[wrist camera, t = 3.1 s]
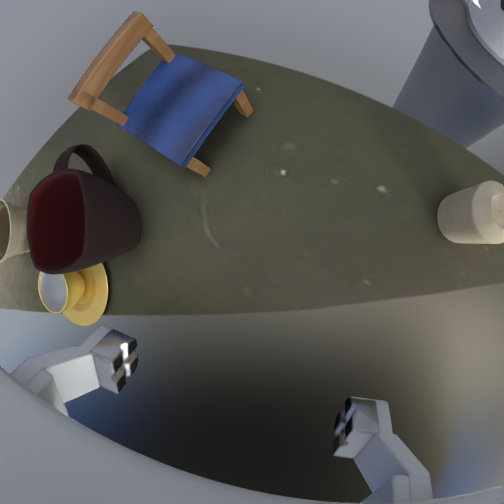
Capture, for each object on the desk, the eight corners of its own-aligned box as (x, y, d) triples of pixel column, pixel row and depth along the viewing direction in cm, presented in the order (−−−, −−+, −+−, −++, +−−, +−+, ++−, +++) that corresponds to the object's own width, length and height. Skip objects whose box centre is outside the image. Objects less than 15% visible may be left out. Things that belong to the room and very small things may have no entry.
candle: (471, 192, 27) (519, 176, 17) (477, 240, 27) (528, 240, 17) (432, 195, 28) (475, 178, 18) (439, 246, 28) (485, 247, 18)
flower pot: (54, 259, 39) (11, 263, 30) (23, 261, 40) (-15, 263, 32) (53, 198, 38) (11, 192, 30) (22, 206, 40) (-15, 203, 32)
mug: (98, 270, 36) (31, 279, 25) (90, 170, 36) (26, 153, 25) (160, 260, 34) (93, 267, 23) (148, 149, 34) (86, 118, 23)
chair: (256, 109, 32) (216, 31, 17) (206, 180, 33) (132, 140, 18) (193, 78, 33) (134, 11, 18) (147, 141, 35) (67, 98, 20)
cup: (106, 336, 36) (81, 347, 31) (51, 309, 38) (26, 316, 33) (115, 250, 35) (87, 251, 30) (57, 233, 38) (30, 232, 32)
